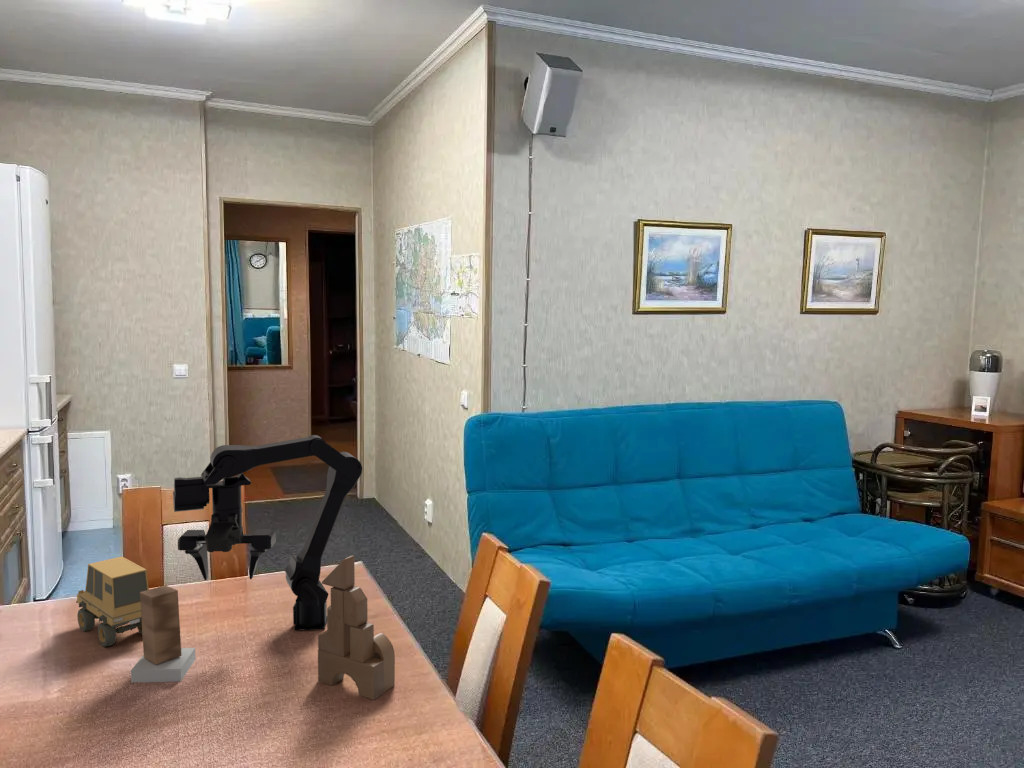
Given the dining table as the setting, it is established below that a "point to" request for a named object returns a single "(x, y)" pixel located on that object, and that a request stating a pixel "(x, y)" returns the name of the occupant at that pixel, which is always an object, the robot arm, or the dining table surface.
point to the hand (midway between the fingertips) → (228, 579)
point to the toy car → (112, 598)
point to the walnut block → (160, 624)
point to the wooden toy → (353, 639)
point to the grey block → (163, 668)
